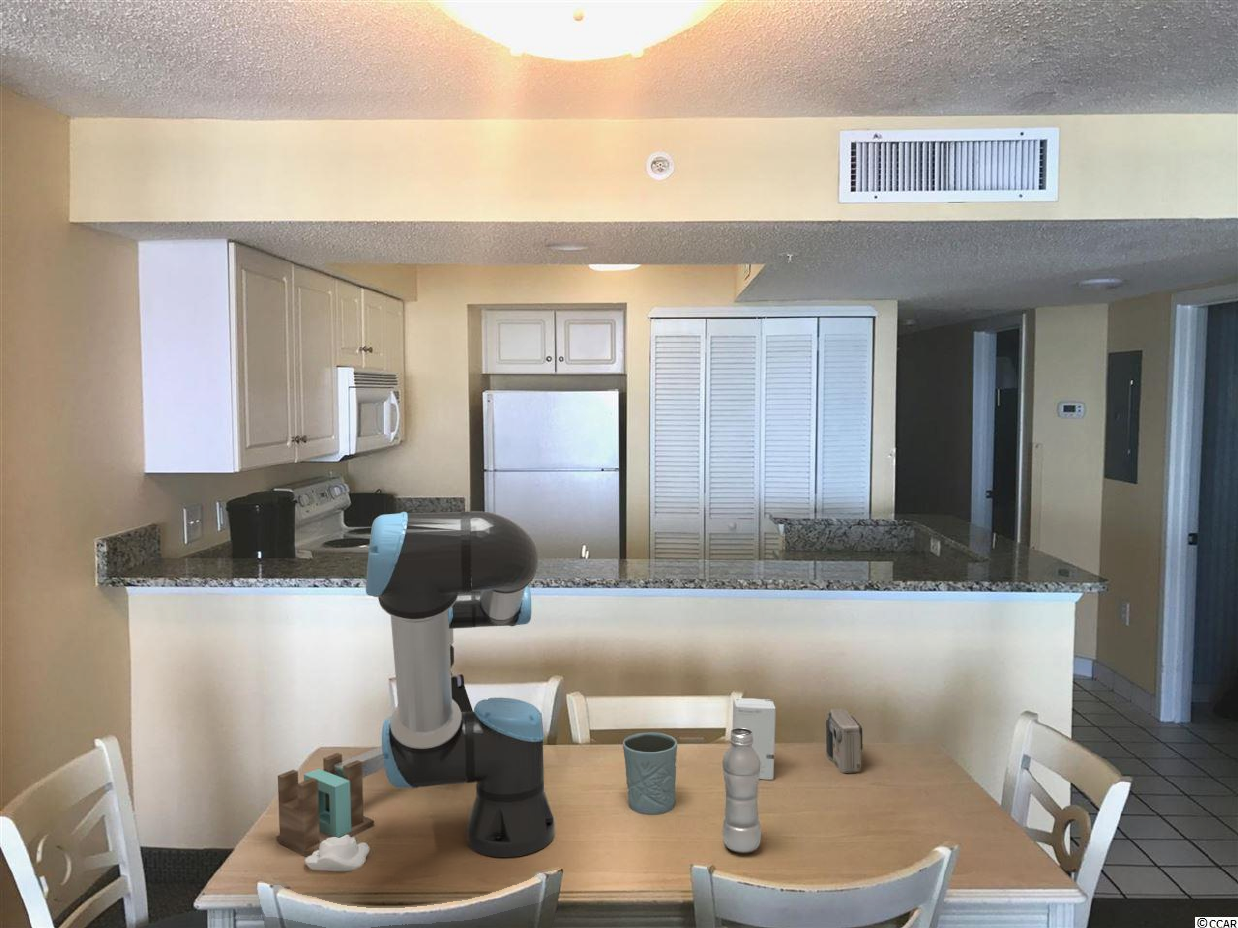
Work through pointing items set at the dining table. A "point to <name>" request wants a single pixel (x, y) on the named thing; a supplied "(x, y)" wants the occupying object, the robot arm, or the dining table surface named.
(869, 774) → the dining table surface
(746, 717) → the skincare box
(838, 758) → the camera
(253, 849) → the dining table surface
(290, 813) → the block
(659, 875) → the dining table surface
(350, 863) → the white cowboy hat
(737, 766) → the plastic bottle
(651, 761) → the drinking glass
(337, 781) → the block
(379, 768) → the shaft
